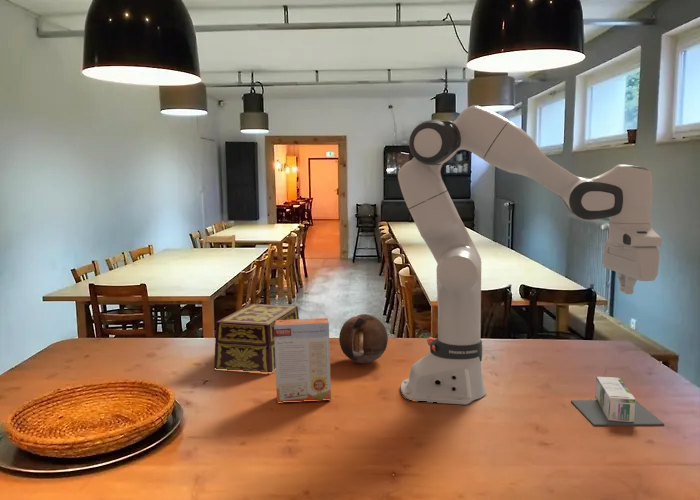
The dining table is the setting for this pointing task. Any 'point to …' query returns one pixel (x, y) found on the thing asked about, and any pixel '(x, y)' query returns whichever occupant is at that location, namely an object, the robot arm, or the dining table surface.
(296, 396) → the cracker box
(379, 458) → the dining table surface
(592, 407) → the mat
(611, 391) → the syrup box
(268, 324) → the decorative box
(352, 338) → the wooden sphere
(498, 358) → the dining table surface
